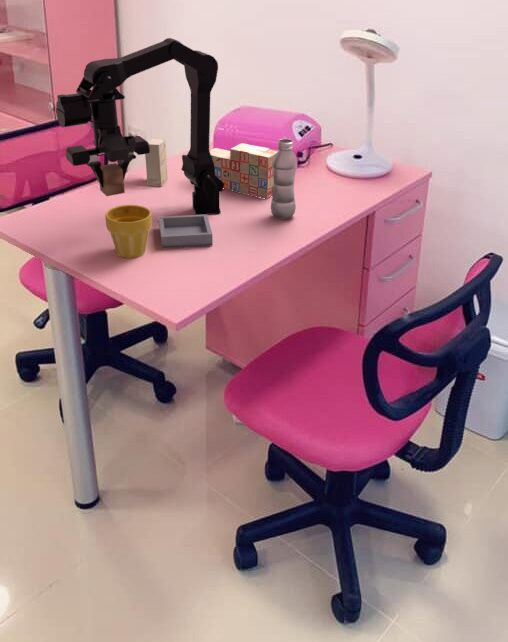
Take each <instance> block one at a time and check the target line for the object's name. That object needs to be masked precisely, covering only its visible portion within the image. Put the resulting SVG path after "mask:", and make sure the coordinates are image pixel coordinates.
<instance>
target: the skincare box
mask: <svg viewBox="0 0 508 642" xmlns="http://www.w3.org/2000/svg"><path fill="white" fill-rule="evenodd" d="M146 141H147V142H148V143H149V146H150V153H147V154H144V156H145V158H144V159H145V169H146V170H145V171H146V181H147V183H146V185H147V186H151V187H163V185H165V184H166V183H167V182H168V179H169V177H168V164H167V163H168V159H167V146H166V139H165V138H156V137H155V138H154V137H151V138H150V139H149V140H146Z"/></svg>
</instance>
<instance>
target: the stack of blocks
mask: <svg viewBox="0 0 508 642" xmlns="http://www.w3.org/2000/svg"><path fill="white" fill-rule="evenodd" d="M209 151H210V154H211V156H212V159H213V162H214V167H215V176H216V177H218V178H219V179H220V180H221V181H222V182H223V183H224V187H223V188H224V189H223V190H225V189H228V190H227V191H229V190H233V191H232V192H234V191H237V192H236V193H238V192H240V193H239V194H242V193H245V194H244V195H246V194H249V195H253V196H257V197H261V198H265V199H267V200H269V199H271V198H272V197H273V188H274V181H273V168H272V160H273V157H274V156H275V154H276V153H277V152H278V150H275V149H270V148H269V147H264V146H257V145H253V144H252V145H251V144H247V143H238V144H237V145H236V146H234V147H230V150H226V149H222V148H218V147H214V148H212V149H209ZM249 195H248V196H249ZM253 196H252V197H253ZM271 196H272V197H271ZM257 197H256V198H257ZM270 197H271V198H270ZM261 198H260V199H261ZM268 198H269V199H268ZM265 199H264V200H265Z"/></svg>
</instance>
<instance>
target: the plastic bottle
mask: <svg viewBox="0 0 508 642" xmlns="http://www.w3.org/2000/svg"><path fill="white" fill-rule="evenodd" d="M293 144H294V140H292V139H290V138H280V139H278V141H277V151H278V152H277V153H276V154H275V156H274V157H273V160H272V168H273V181H274V188H273V196H272V197H271V198H272V199H271V202H270V213H271V214H272V216H273V217H274V218H276V219H282V220H283V219H284V220H285V219H290V218H291V217H293V216H294V215H295V214H296V209H297V208H296V199H295V182H296V181H295V180H296V173H297V167H298V159H297V156H296V155H295V152H293V149H294V145H293Z"/></svg>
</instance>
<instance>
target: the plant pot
mask: <svg viewBox="0 0 508 642" xmlns="http://www.w3.org/2000/svg"><path fill="white" fill-rule="evenodd" d="M104 216H105V226H106V230H107V231H108V232H109V234H110V235H111V240H112V241H113V245H114V248H115V251H116V254H117V255H118V256H119V257H122V258H126V259H133V258H139V257H141V256H143V255H144V254H145V253H146V249H147V244H148V239H149V232H150V230H151V228H152V226H153V223H152V222H153V219H152V218H153V217H152V211H151V209H149V208H148V207H146V206H144V205H143V206H142V205H138V204H123V205H117V206H115V207H112V208H109V209H108V210H107V211H106V213H105V215H104Z"/></svg>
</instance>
